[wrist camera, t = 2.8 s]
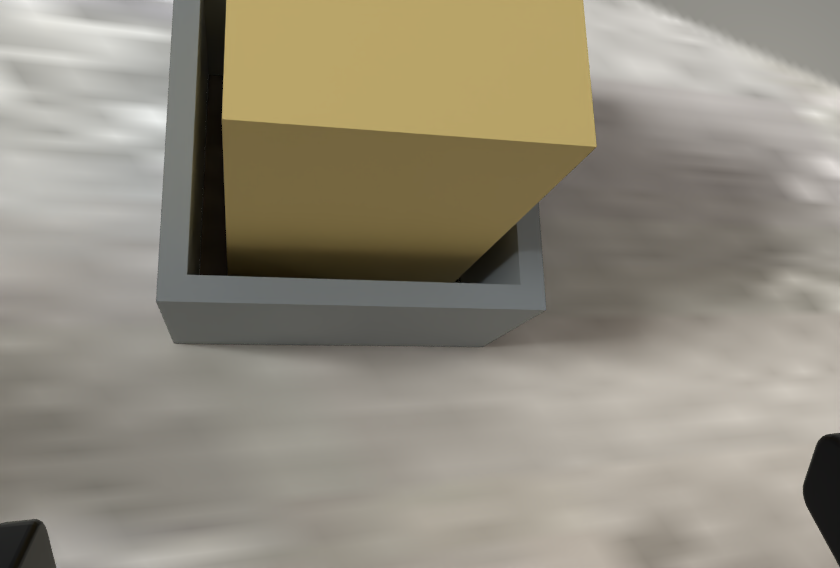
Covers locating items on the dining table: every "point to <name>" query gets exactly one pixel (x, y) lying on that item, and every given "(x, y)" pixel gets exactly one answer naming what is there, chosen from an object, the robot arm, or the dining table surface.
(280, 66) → the ochre block
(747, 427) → the dining table surface
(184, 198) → the sleeve
